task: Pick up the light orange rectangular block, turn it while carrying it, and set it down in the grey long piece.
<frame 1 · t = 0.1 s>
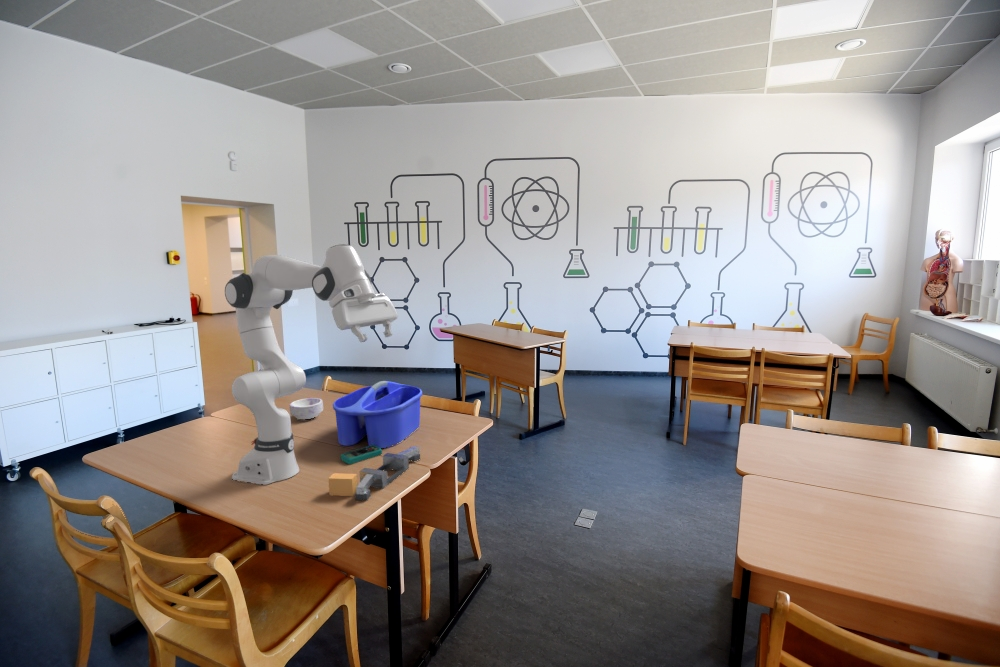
hand: (376, 338, 143), 54 cm above the table, tool tilted 30°, fingers open, 8 cm apart
paper bowls: (307, 418, 247), on the table
digital multimeter: (361, 458, 197), on the table
caddy: (381, 434, 223), on the table
grey long piece: (385, 476, 179), on the table
light orange rectangular block: (343, 493, 167), on the table
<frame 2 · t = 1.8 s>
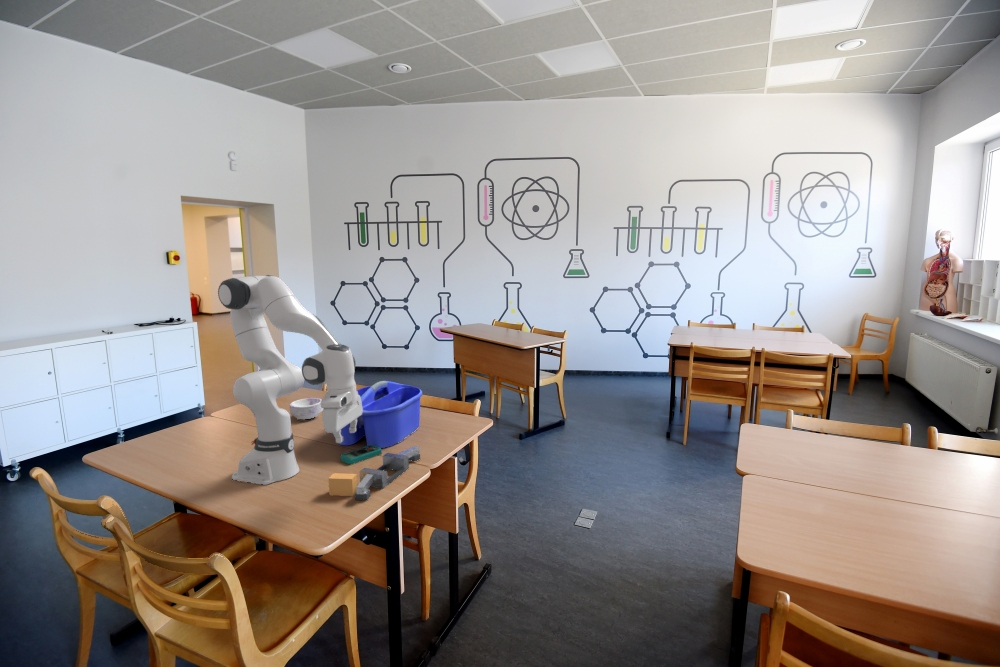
hand: (346, 437, 162), 20 cm above the table, tool pointing down, fingers open, 8 cm apart
nothing on the table moved.
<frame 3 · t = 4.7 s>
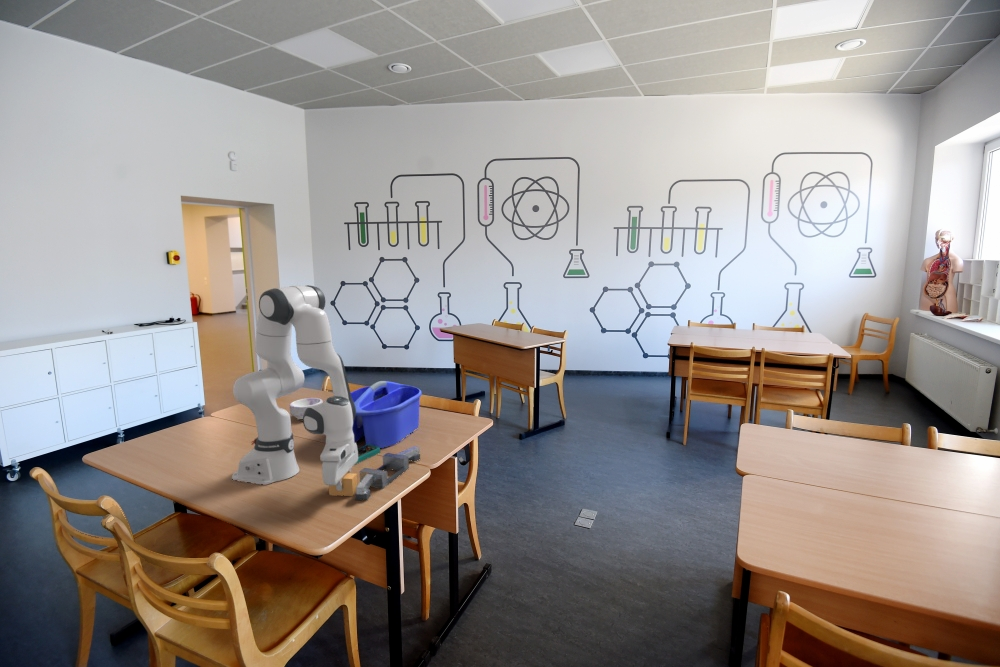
hand: (343, 485, 167), 2 cm above the table, tool pointing down, fingers closed on light orange rectangular block, 4 cm apart
light orange rectangular block: (343, 492, 167), on the table, touching gripper
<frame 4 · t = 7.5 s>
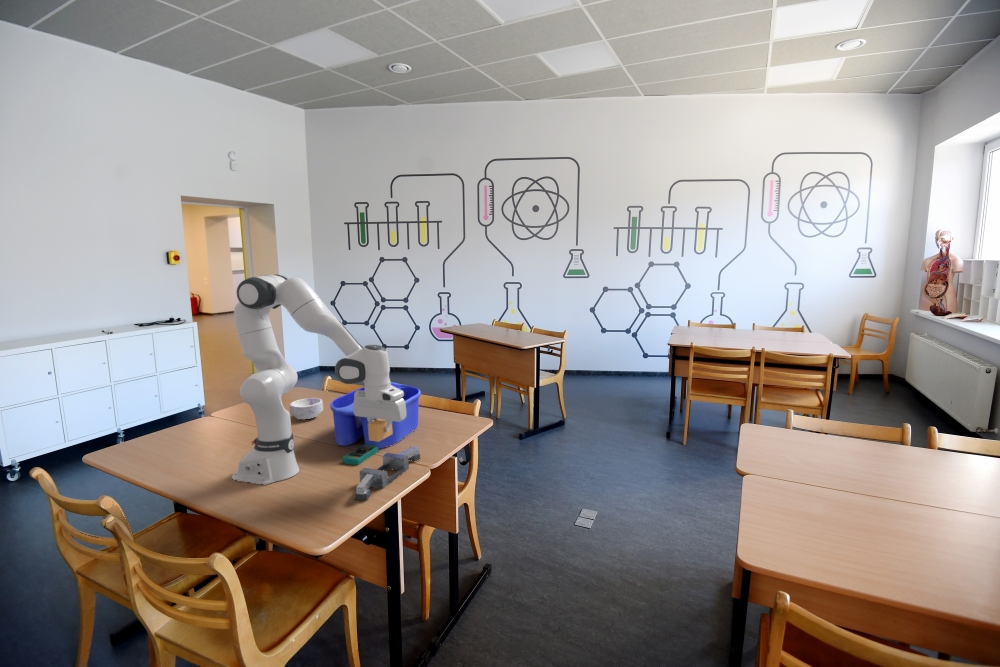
hand: (380, 430, 175), 18 cm above the table, tool pointing down, fingers closed on light orange rectangular block, 4 cm apart
light orange rectangular block: (381, 437, 175), point 15 cm above the table, touching gripper
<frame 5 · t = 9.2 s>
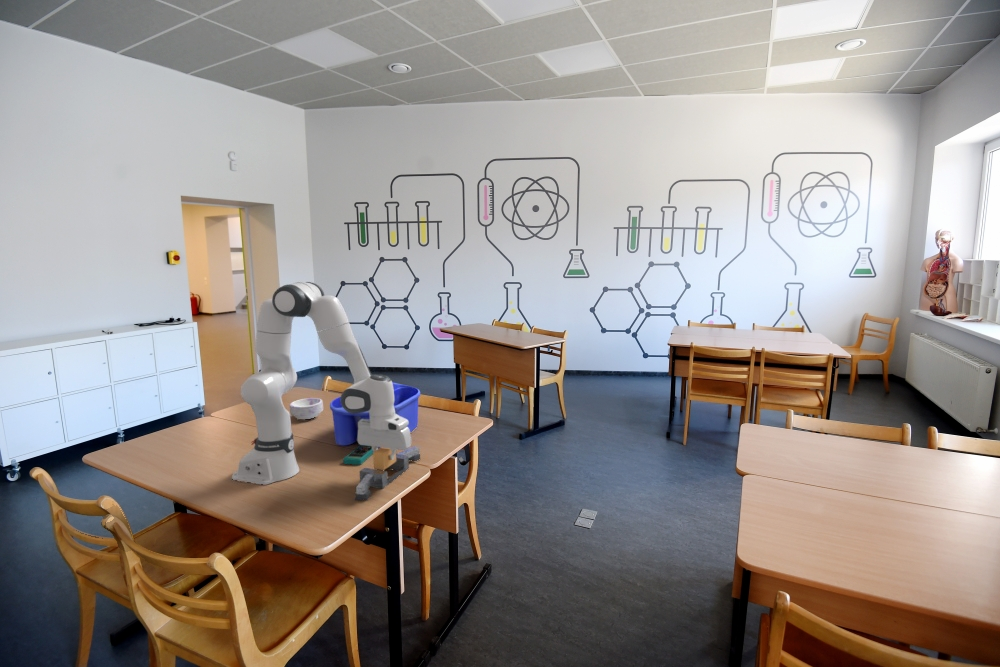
hand: (385, 458, 178), 7 cm above the table, tool pointing down, fingers closed on light orange rectangular block, 4 cm apart
light orange rectangular block: (385, 464, 178), point 4 cm above the table, touching gripper
when the fingers open (4 cm above the table, at t = 10.6 s): light orange rectangular block drops 2 cm, resting in grey long piece.
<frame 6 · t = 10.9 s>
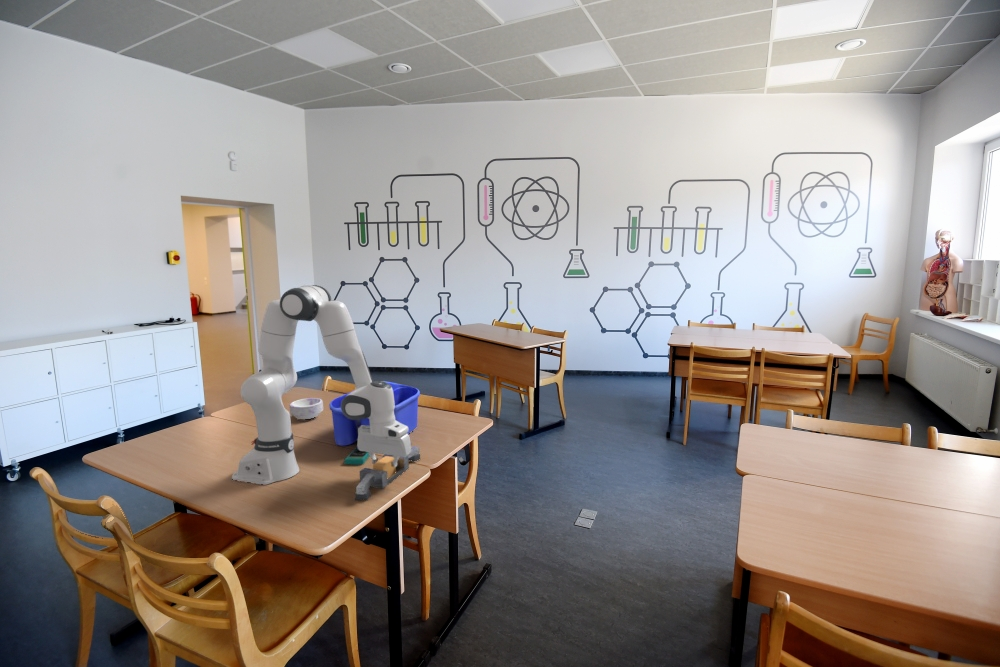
hand: (384, 464, 178), 4 cm above the table, tool pointing down, fingers open, 6 cm apart
light orange rectangular block: (385, 476, 179), resting in grey long piece
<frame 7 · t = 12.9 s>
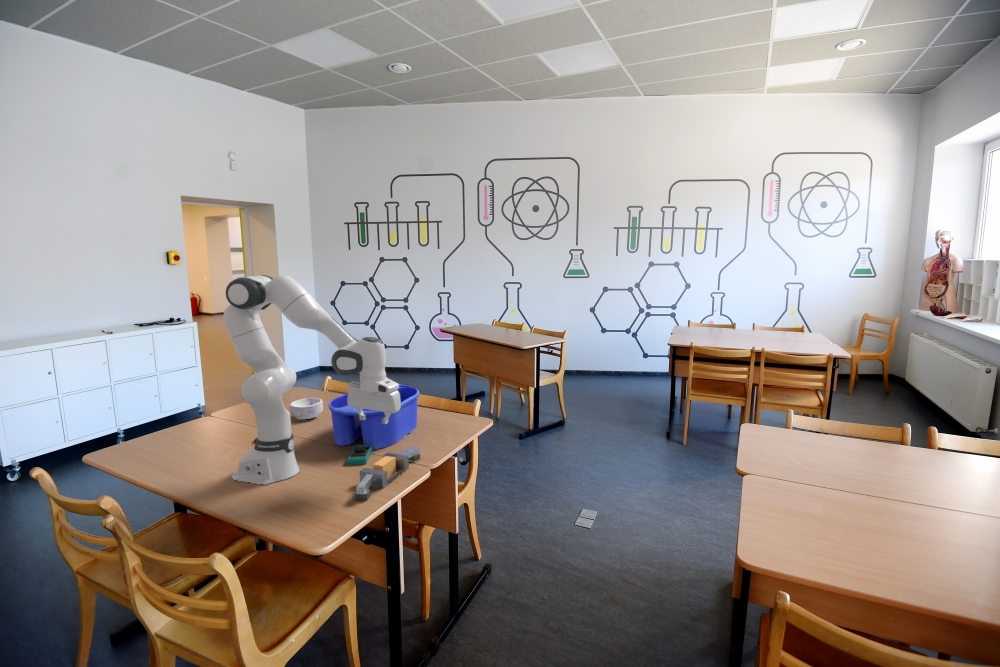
hand: (373, 421, 178), 20 cm above the table, tool pointing down, fingers open, 8 cm apart
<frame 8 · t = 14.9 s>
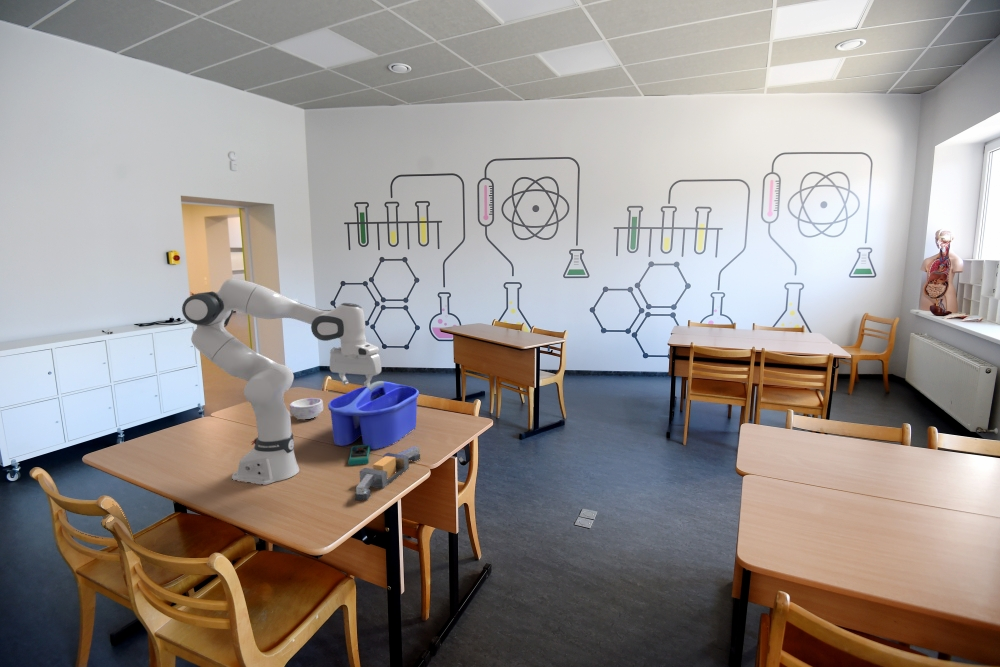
hand: (356, 385, 183), 31 cm above the table, tool pointing down, fingers open, 8 cm apart
at the end: light orange rectangular block 0.1 cm off-centre on the grey long piece, point 0.0 cm above the grey long piece's base; light orange rectangular block tilted 0°; the gripper is holding nothing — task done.
